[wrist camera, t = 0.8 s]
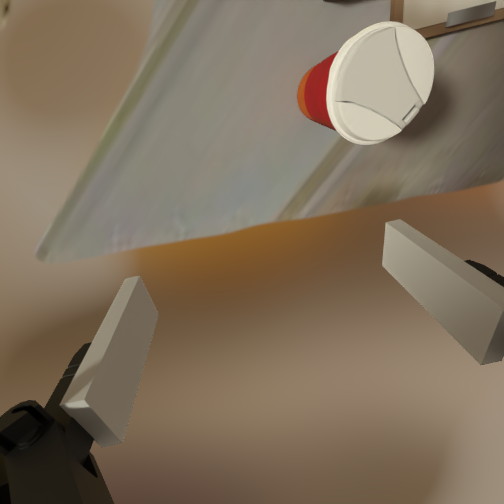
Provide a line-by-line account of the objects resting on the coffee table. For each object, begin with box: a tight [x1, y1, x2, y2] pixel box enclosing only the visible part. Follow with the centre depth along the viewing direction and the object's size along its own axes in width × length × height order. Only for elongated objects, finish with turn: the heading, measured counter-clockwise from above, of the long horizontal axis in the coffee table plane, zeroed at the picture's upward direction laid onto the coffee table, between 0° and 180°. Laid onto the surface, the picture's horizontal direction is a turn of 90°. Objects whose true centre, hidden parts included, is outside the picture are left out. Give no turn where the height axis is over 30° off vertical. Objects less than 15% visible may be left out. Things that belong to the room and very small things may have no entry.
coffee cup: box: [297, 21, 434, 145], centre depth 26 cm, size 8×8×15 cm
